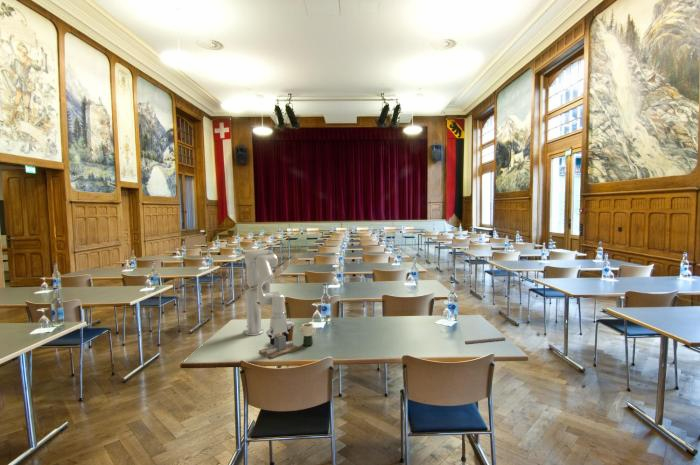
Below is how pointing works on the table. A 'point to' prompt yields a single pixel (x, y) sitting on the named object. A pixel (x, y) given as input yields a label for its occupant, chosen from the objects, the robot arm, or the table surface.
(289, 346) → the rail board
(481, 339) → the metal rod
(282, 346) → the block
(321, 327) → the table surface
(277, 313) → the robot arm
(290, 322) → the disposable coffee cup
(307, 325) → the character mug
